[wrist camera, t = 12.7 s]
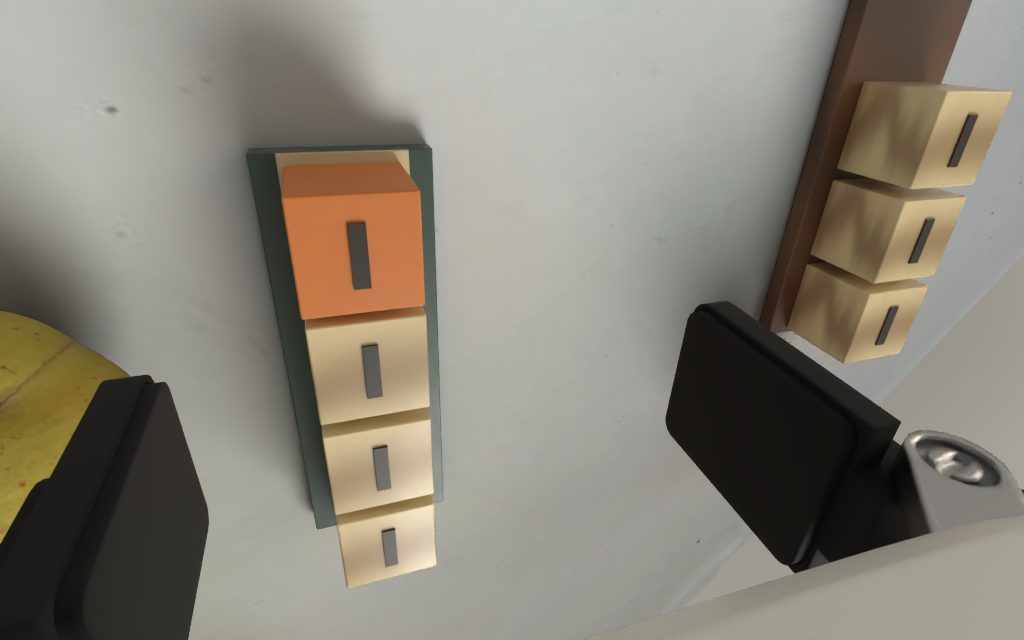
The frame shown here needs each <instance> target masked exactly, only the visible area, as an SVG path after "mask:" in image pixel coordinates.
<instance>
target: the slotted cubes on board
mask: <svg viewBox="0 0 1024 640" xmlns="http://www.w3.org/2000/svg"><path fill="white" fill-rule="evenodd" d="M971 2H972V0H851V2H850V6H849V9H848V13H847V16H846V20H845V23H844V27H843V30H842V34H841V37H840V41H839V44H838V48H837V51H836V55H835V58H834V62H833V65H832V69H831V72H830V76H829V80H828V83H827V87H826V90H825V94H824V97H823V101H822V104H821V108H820V111H819V115H818V118H817V122H816V125H815V129H814V132H813V136H812V139H811V143H810V146H809V150H808V153H807V157H806V161H805V164H804V168H803V171H802V175H801V178H800V182H799V185H798V189H797V192H796V196H795V199H794V203H793V206H792V210H791V213H790V217H789V220H788V224H787V227H786V231H785V234H784V238H783V242H782V245H781V249H780V252H779V256H778V259H777V263H776V266H775V270H774V273H773V277H772V280H771V284H770V287H769V291H768V294H767V298H766V301H765V305H764V308H763V312H762V315H761V319H760V322H759V323H761V324H762V325H763V326H765V327H766V328H768V329H769V330H771V331H772V332H773V333H780V332H786V331H793V332H794V333H796V334H797V335H799V336H800V337H802V338H804V339H805V340H807V341H808V342H810V343H811V344H813V345H815V346H816V347H818V348H819V349H821V350H822V351H824V352H826V353H827V354H829V355H830V356H832V357H833V358H835V359H837V360H838V361H840V362H841V363H843V364H846V363H851V362H856V361H861V360H866V359H871V358H877V357H882V356H887V355H892V354H897V353H900V351H901V349H902V346H903V344H904V342H905V340H906V337H907V335H908V333H909V330H910V328H911V326H912V323H913V321H914V319H915V317H916V314H917V312H918V310H919V307H920V305H921V303H922V300H923V298H924V296H925V294H926V291H927V289H928V286H927V285H925V284H923V283H920V282H918V281H916V280H913V279H911V278H918V277H926V276H933V275H934V273H935V270H936V268H937V266H938V264H939V261H940V259H941V257H942V254H943V252H944V250H945V247H946V245H947V243H948V241H949V238H950V236H951V234H952V231H953V229H954V227H955V224H956V222H957V220H958V218H959V215H960V213H961V211H962V208H963V206H964V204H965V201H966V199H967V197H966V196H962V195H958V194H954V193H951V192H947V191H943V190H940V189H936V188H933V187H947V186H961V185H972V184H973V183H974V181H975V179H976V176H977V174H978V172H979V169H980V167H981V165H982V162H983V160H984V158H985V156H986V153H987V151H988V149H989V146H990V144H991V142H992V139H993V137H994V135H995V133H996V130H997V128H998V126H999V123H1000V121H1001V119H1002V116H1003V114H1004V112H1005V109H1006V107H1007V105H1008V103H1009V100H1010V98H1011V96H1012V93H1013V92H1012V91H1005V90H995V89H986V88H976V87H967V86H957V85H947V84H941V83H942V80H943V77H944V75H945V72H946V69H947V67H948V64H949V61H950V59H951V56H952V53H953V51H954V48H955V45H956V42H957V40H958V37H959V34H960V32H961V29H962V26H963V24H964V21H965V18H966V16H967V13H968V10H969V8H970V5H971Z"/></svg>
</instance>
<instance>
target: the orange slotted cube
mask: <svg viewBox="0 0 1024 640" xmlns="http://www.w3.org/2000/svg"><path fill="white" fill-rule="evenodd" d="M281 201H282V207H283V213H284V219H285V225H286V231H287V237H288V243H289V249H290V255H291V261H292V267H293V273H294V279H295V285H296V291H297V297H298V303H299V309H300V315H301V319H303V320H304V319H313V318H322V317H330V316H339V315H347V314H356V313H364V312H373V311H382V310H390V309H399V308H407V307H416V306H424V305H425V288H424V265H423V242H422V220H421V197H420V190H419V188H418V187H417V186H416V184H415V183H414V181H413V180H412V179H411V177H410V176H409V174H408V173H407V171H406V170H405V169H404V167H403V166H402V164H401V163H400V162H379V163H352V164H325V165H297V166H284V172H283V184H282V195H281Z"/></svg>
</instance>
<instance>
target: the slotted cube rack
mask: <svg viewBox="0 0 1024 640" xmlns="http://www.w3.org/2000/svg"><path fill="white" fill-rule="evenodd" d="M247 160H248V166H249V171H250V176H251V182H252V187H253V192H254V198H255V203H256V208H257V214H258V219H259V224H260V229H261V235H262V240H263V245H264V251H265V256H266V261H267V267H268V272H269V277H270V283H271V288H272V293H273V299H274V304H275V309H276V315H277V320H278V325H279V331H280V336H281V341H282V347H283V352H284V357H285V362H286V368H287V373H288V378H289V384H290V389H291V394H292V400H293V405H294V410H295V416H296V421H297V426H298V432H299V437H300V442H301V448H302V453H303V458H304V464H305V469H306V474H307V480H308V485H309V490H310V496H311V501H312V506H313V511H314V517H315V522H316V527H317V529H322V528H326V527H330V526H335V525H337V530H338V536H339V542H340V548H341V554H342V561H343V567H344V573H345V579H346V585H347V588H353V587H357V586H360V585H364V584H368V583H372V582H376V581H380V580H383V579H387V578H391V577H395V576H399V575H402V574H406V573H410V572H414V571H418V570H422V569H425V568H429V567H433V566H436V564H437V559H436V536H435V512H434V503H436V502H441V501H443V481H442V449H441V417H440V386H439V354H438V322H437V291H436V259H435V228H434V196H433V164H432V148H431V147H430V146H429V145H428V144H407V145H370V146H332V147H294V148H256V149H248V152H247ZM379 162H400V163H401V164H402V166H403V167H404V169H405V170H406V171H407V173H408V174H409V176H410V177H411V179H412V180H413V181H414V183H415V184H416V186H417V187H418V188H419V190H420V197H421V220H422V242H423V265H424V288H425V305H424V306H416V307H407V308H399V309H390V310H382V311H373V312H364V313H356V314H347V315H339V316H330V317H322V318H313V319H304V320H303V319H301V315H300V309H299V303H298V297H297V291H296V285H295V279H294V273H293V267H292V261H291V255H290V249H289V243H288V237H287V231H286V225H285V219H284V213H283V207H282V201H281V195H282V184H283V172H284V166H297V165H325V164H352V163H379Z"/></svg>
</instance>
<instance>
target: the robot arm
mask: <svg viewBox="0 0 1024 640" xmlns="http://www.w3.org/2000/svg"><path fill="white" fill-rule="evenodd" d="M900 423H901V422H900V421H899V420H898V419H896V418H895V417H893V416H892V415H891V414H889V413H888V412H886V411H885V410H883V409H882V408H881V407H879V406H878V405H876V404H875V403H874V402H872V401H871V400H869V399H868V398H866V397H865V396H864V395H862V394H861V393H859V392H858V391H856V390H855V389H854V388H852V387H851V386H849V385H848V384H846V383H845V382H844V381H842V380H841V379H839V378H838V377H836V376H835V375H834V374H832V373H831V372H829V371H828V370H826V369H825V368H824V367H822V366H821V365H819V364H818V363H816V362H815V361H813V360H812V359H811V358H809V357H808V356H806V355H805V354H803V353H802V352H801V351H799V350H798V349H796V348H795V347H793V346H792V345H791V344H789V343H788V342H786V341H785V340H783V339H782V338H781V337H779V336H778V335H776V334H775V333H773V332H772V331H771V330H769V329H768V328H766V327H765V326H763V325H762V324H761V323H759V322H758V321H756V320H755V319H753V318H752V317H751V316H749V315H748V314H746V313H745V312H743V311H742V310H741V309H739V308H738V307H736V306H735V305H733V304H732V303H730V302H728V301H722V302H714V303H707V304H701V305H699V306H697V308H696V309H695V310H694V312H693V313H691V314H690V316H689V318H688V320H687V325H686V329H685V334H684V338H683V343H682V347H681V351H680V356H679V360H678V365H677V369H676V373H675V378H674V382H673V387H672V391H671V396H670V400H669V404H668V409H667V413H666V426H667V429H668V431H669V433H670V435H671V436H672V437H673V438H674V439H675V441H676V442H677V443H678V444H679V445H680V446H681V448H682V449H683V450H684V451H685V452H686V454H687V455H688V456H689V457H690V458H691V459H692V461H693V462H694V463H695V464H696V465H697V466H698V468H699V469H700V470H701V471H702V472H703V473H704V475H705V476H706V477H707V478H708V479H709V481H710V482H711V483H712V484H713V485H714V486H715V488H716V489H717V490H718V491H719V492H720V493H721V495H722V496H723V497H724V498H725V499H726V501H727V502H728V503H729V504H730V505H731V506H732V508H733V509H734V510H735V511H736V512H737V513H738V515H739V516H740V517H741V518H742V519H743V520H744V522H745V523H746V524H747V525H748V526H749V528H750V529H751V530H752V531H753V532H754V533H755V535H756V536H757V537H758V538H759V539H760V540H761V542H762V543H763V544H764V545H765V546H766V547H767V549H768V550H769V551H770V552H771V553H772V555H773V556H774V557H775V558H776V559H777V560H778V561H779V562H780V563H782V564H784V565H788V566H789V567H790V569H791V570H792V571H793V572H794V573H795V574H792V575H789V576H785V577H782V578H779V579H776V580H772V581H769V582H766V583H763V584H759V585H756V586H753V587H749V588H746V589H743V590H740V591H737V592H734V593H730V594H727V595H724V596H721V597H717V598H714V599H711V600H708V601H705V602H702V603H698V604H695V605H692V606H689V607H686V608H682V609H679V610H676V611H673V612H670V613H666V614H663V615H660V616H657V617H654V618H650V619H647V620H644V621H641V622H638V623H635V624H631V625H628V626H625V627H622V628H619V629H616V630H612V631H609V632H606V633H603V634H600V635H597V636H593V637H590V638H587V639H584V640H1024V490H1022V489H1020V487H1019V485H1018V483H1017V481H1016V480H1015V478H1014V476H1013V474H1012V473H1011V472H1010V470H1009V469H1008V468H1007V467H1006V465H1005V464H1004V463H1003V462H1001V461H1000V460H999V459H998V458H997V457H996V456H994V455H993V454H992V453H990V452H988V451H987V450H985V449H983V448H982V447H980V446H979V445H976V444H974V443H972V442H970V441H968V440H965V439H963V438H961V437H958V436H954V435H951V434H948V433H944V432H938V431H932V430H918V431H915V432H912V433H910V434H908V436H907V437H906V438H905V440H904V442H903V443H902V445H899V444H898V443H897V442H895V441H894V440H893V438H894V435H895V433H896V431H897V429H898V427H899V425H900ZM208 526H209V516H208V508H207V504H206V501H205V498H204V495H203V492H202V489H201V486H200V482H199V479H198V476H197V473H196V470H195V467H194V464H193V461H192V457H191V454H190V451H189V448H188V445H187V442H186V439H185V436H184V433H183V429H182V426H181V423H180V420H179V417H178V414H177V411H176V408H175V404H174V401H173V398H172V395H171V392H170V389H169V387H168V385H167V384H166V383H165V382H160V383H154V381H153V379H152V378H151V376H149V375H141V376H133V377H125V378H117V379H109V380H104V381H102V382H101V384H100V385H99V387H98V389H97V390H96V392H95V394H94V396H93V398H92V400H91V402H90V403H89V405H88V407H87V409H86V411H85V413H84V415H83V416H82V418H81V420H80V422H79V424H78V426H77V428H76V429H75V431H74V433H73V435H72V437H71V439H70V441H69V442H68V444H67V446H66V448H65V450H64V452H63V454H62V455H61V457H60V459H59V461H58V463H57V465H56V467H55V468H54V470H53V472H52V474H51V476H50V478H46V479H43V480H41V481H39V482H38V483H36V484H35V486H34V487H33V488H32V490H31V491H30V492H29V494H28V496H27V497H26V499H25V501H24V503H23V504H22V506H21V508H20V510H19V512H18V513H17V515H16V517H15V519H14V520H13V522H12V524H11V526H10V528H9V529H8V531H7V533H6V535H5V536H4V538H3V540H2V542H1V544H0V640H188V637H189V631H190V626H191V620H192V615H193V609H194V604H195V599H196V593H197V588H198V582H199V577H200V571H201V566H202V560H203V555H204V549H205V544H206V538H207V533H208Z"/></svg>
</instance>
